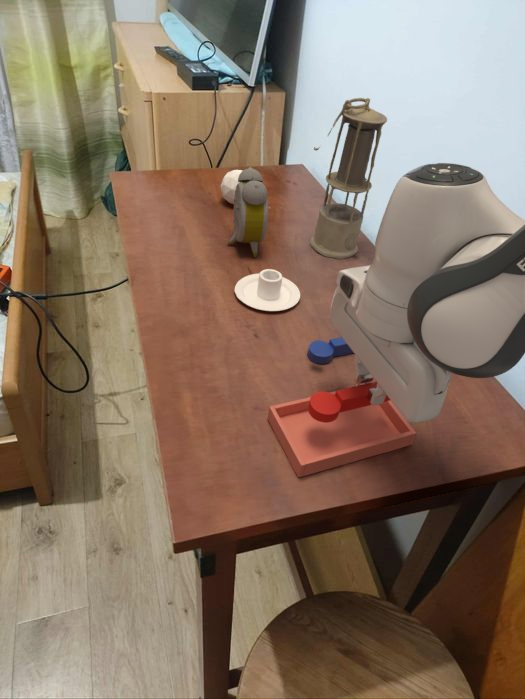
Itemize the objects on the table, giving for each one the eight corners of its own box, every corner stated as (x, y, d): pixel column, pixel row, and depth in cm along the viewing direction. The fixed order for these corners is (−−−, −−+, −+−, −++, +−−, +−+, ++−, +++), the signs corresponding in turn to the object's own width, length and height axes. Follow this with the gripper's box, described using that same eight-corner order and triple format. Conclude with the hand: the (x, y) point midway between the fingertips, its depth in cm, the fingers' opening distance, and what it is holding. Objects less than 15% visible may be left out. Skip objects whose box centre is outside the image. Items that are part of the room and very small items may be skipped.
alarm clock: (263, 260, 103) (272, 188, 93) (230, 259, 101) (235, 187, 92) (255, 232, 111) (262, 163, 102) (224, 231, 110) (228, 162, 100)
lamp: (362, 259, 107) (402, 108, 88) (301, 257, 105) (329, 102, 86) (351, 235, 115) (386, 91, 95) (294, 232, 113) (318, 85, 93)
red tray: (372, 393, 76) (376, 381, 75) (411, 445, 70) (416, 433, 68) (267, 418, 70) (269, 406, 69) (298, 477, 64) (301, 465, 62)
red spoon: (385, 384, 71) (389, 371, 69) (401, 404, 68) (406, 392, 66) (302, 403, 66) (305, 390, 65) (316, 425, 63) (319, 413, 62)
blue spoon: (370, 337, 87) (373, 326, 85) (382, 352, 84) (386, 341, 83) (303, 350, 82) (305, 338, 81) (314, 366, 80) (316, 354, 78)
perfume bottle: (216, 195, 115) (209, 180, 124) (243, 216, 119) (235, 200, 128) (237, 167, 112) (229, 154, 122) (265, 190, 116) (255, 175, 126)
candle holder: (223, 300, 91) (224, 280, 88) (251, 270, 99) (253, 250, 96) (285, 322, 88) (288, 301, 85) (308, 289, 96) (312, 269, 94)
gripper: (479, 362, 52) (435, 447, 61) (374, 258, 66) (350, 340, 75) (429, 373, 50) (391, 460, 59) (331, 264, 63) (312, 348, 72)
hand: (367, 392), depth 67 cm, fingers closed on red spoon, 2 cm apart
